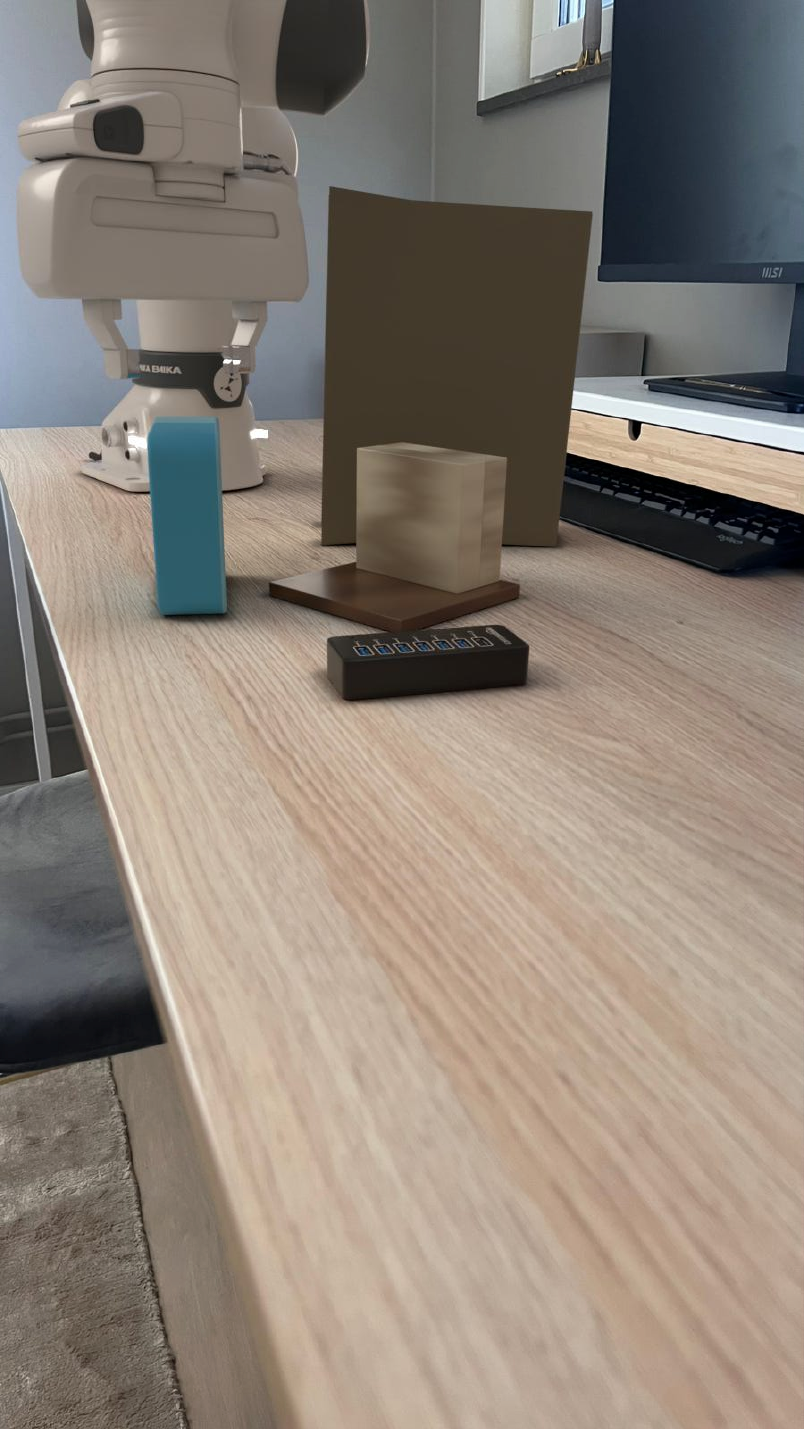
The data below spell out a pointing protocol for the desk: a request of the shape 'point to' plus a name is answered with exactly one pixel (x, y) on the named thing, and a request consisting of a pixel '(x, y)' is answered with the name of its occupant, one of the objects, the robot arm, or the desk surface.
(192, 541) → the data package
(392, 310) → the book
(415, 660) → the multiport hub
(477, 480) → the wood block on base
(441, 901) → the desk surface
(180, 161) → the robot arm
